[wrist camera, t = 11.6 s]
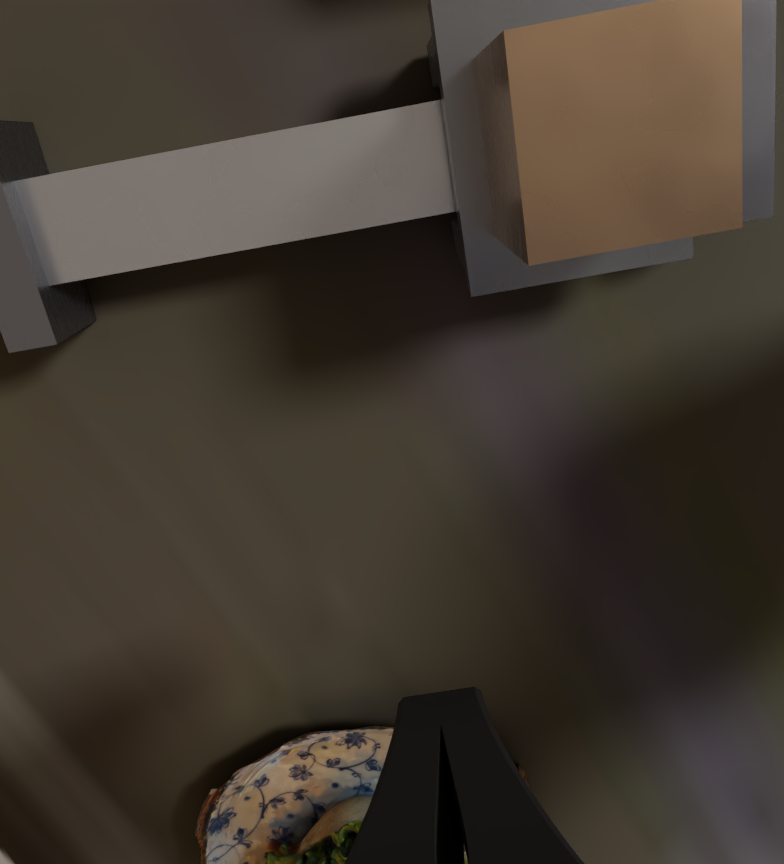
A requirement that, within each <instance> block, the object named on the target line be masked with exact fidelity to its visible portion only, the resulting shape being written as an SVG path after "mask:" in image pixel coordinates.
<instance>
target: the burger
mask: <svg viewBox="0 0 784 864" xmlns="http://www.w3.org/2000/svg"><path fill="white" fill-rule="evenodd" d="M393 730H394V727H383V726H371V727H363V728H358V729H352V730H338V731H319V732H310V733H306V734H303V735H301V736H298V737H296V738H294V739H293V740H291V741H289V742H287V743H283V744H282V746H281V747H279V748H277V749H275V750H274V751H272V752H270V753H269V754H267V755H265V756H263V757H261V758H260V759H258V760H256V761H254V762H253V763H250V764H247V765H245V766H243V767H241V768H240V769H238V770H237V771H235V772H234V773H233V774H232V775H231V777H230V779H229V780H227V781H226V782H225V783H224V784H223V785H221V786H220V787H219V788H218V789H211V791H210V793H209V795H208V796H207V798H206V800H205V801H204V803H203V805H202V807H201V810H200V814H199V817H198V821H197V824H196V828H195V831H194V835H195V836H196V837H197V838H198V840H199V844H200V848H201V854H200V859H201V861H200V863H199V864H344V863H345V861H346V859H347V857H348V854H349V852H350V850H351V848H352V846H353V843H354V841H355V838H356V836H357V834H358V831H359V829H360V826H361V824H362V822H363V819H364V817H365V814H366V812H367V810H368V807H369V805H370V802H371V799H372V797H373V794H374V791H375V788H376V785H377V782H378V779H379V776H380V774H381V771H382V768H383V765H384V762H385V758H386V755H387V752H388V748H389V745H390V741H391V738H392V734H393ZM517 769H518V771H519V772H520V774H521V776H522V777H523V779H524V781H525V782H526V784H527V786H528V787H529V789H530V786H529V782H528V779H527V776H526V773H525V771H524V770H522V766H521V765H519V764H517ZM524 776H526V778H524ZM530 790H531V789H530ZM464 860H465V864H468V860H467V856H466V851H465V846H464Z"/></svg>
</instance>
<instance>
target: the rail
mask: <svg viewBox="0 0 784 864" xmlns="http://www.w3.org/2000/svg"><path fill="white" fill-rule="evenodd" d="M775 68H776V0H742V198H743V222H746V221H752V220H758V219H763V218H769V217H774V157H775ZM450 212H456V204H455V197H454V189H453V182H452V175H451V168H450V161H449V153H448V146H447V139H446V132H445V124H444V117H443V110H442V103H441V100H436V101H431V102H426V103H421V104H415V105H410V106H405V107H400V108H394V109H389V110H384V111H379V112H374V113H368V114H363V115H358V116H353V117H347V118H342V119H337V120H332V121H326V122H321V123H316V124H311V125H305V126H300V127H295V128H290V129H284V130H279V131H274V132H269V133H264V134H258V135H253V136H248V137H243V138H237V139H232V140H227V141H222V142H216V143H211V144H206V145H201V146H195V147H190V148H185V149H180V150H174V151H169V152H164V153H159V154H154V155H148V156H143V157H138V158H133V159H127V160H122V161H117V162H112V163H106V164H101V165H96V166H91V167H85V168H80V169H75V170H70V171H64V172H59V173H54V174H49V172H48V169H47V166H46V163H45V160H44V157H43V154H42V151H41V148H40V145H39V141H38V138H37V135H36V132H35V129H34V126H33V123H32V122H17V121H0V331H1V334H2V337H3V339H4V342H5V345H6V347H7V350H8V353H12V352H18V351H23V350H29V349H35V348H40V347H46V346H51V345H57V344H59V343H60V342H62V341H64V340H65V339H67V338H68V337H70V336H72V335H73V334H75V333H77V332H78V331H80V330H81V329H83V328H85V327H86V326H88V325H90V324H91V323H93V322H94V321H96V317H95V314H94V311H93V308H92V305H91V301H90V298H89V295H88V292H87V289H86V286H85V283H84V279H89V278H95V277H100V276H106V275H111V274H116V273H122V272H127V271H133V270H138V269H144V268H149V267H155V266H160V265H166V264H171V263H177V262H182V261H188V260H193V259H199V258H204V257H209V256H215V255H220V254H226V253H231V252H237V251H242V250H248V249H253V248H259V247H264V246H270V245H275V244H281V243H286V242H292V241H297V240H302V239H308V238H313V237H319V236H324V235H330V234H335V233H341V232H346V231H352V230H357V229H363V228H368V227H374V226H379V225H385V224H390V223H395V222H401V221H406V220H412V219H417V218H423V217H428V216H434V215H439V214H445V213H450Z"/></svg>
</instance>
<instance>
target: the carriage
mask: <svg viewBox="0 0 784 864" xmlns="http://www.w3.org/2000/svg"><path fill="white" fill-rule="evenodd" d="M428 9H429V16H430V23H431V31H432V36H431V38H430V41H429V43H428V45H427V51H428V58H429V65H430V72H431V80H432V87H433V88H435V87H439V88H440V96H441V103H442V110H443V117H444V124H445V132H446V139H447V146H448V153H449V161H450V168H451V175H452V182H453V189H454V197H455V204H456V211H457V218H458V219H454V220H451V221H452V228H453V235H454V242H455V249H456V256H457V257H458V259H459V260H460V262H461V263H462V265H463V266H464V269H465V276H466V283H467V291H468V292H469V294H470V296H471V297H474V296H480V295H486V294H491V293H497V292H503V291H508V290H514V289H520V288H525V287H531V286H537V285H542V284H548V283H554V282H559V281H565V280H571V279H576V278H582V277H588V276H593V275H599V274H605V273H610V272H616V271H622V270H627V269H633V268H639V267H644V266H650V265H656V264H661V263H667V262H673V261H678V260H684V259H690V258H693V237H694V236H699V235H705V234H710V233H716V232H722V231H727V230H733V229H738V228H743V198H742V0H430V1H429V4H428Z"/></svg>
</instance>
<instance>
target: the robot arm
mask: <svg viewBox="0 0 784 864" xmlns="http://www.w3.org/2000/svg"><path fill="white" fill-rule="evenodd" d="M464 846H465V851H466V856H467V860H468V864H584V863H583V862H582V860H581V859H580V858H579V857H578V855H577V854H576V853H575V852H574V850H573V849H572V848H571V847H570V845H569V844H568V843H567V841H566V840H565V839H564V837H563V836H562V835H561V833H560V832H559V831H558V829H557V828H556V827H555V825H554V824H553V822H552V821H551V820H550V818H549V817H548V815H547V814H546V812H545V811H544V810H543V808H542V807H541V805H540V804H539V802H538V801H537V799H536V798H535V796H534V795H533V793H532V792H531V790H530V789H529V787H528V786H527V784H526V782H525V781H524V779H523V777H522V776H521V774H520V772H519V771H518V769H517V767H516V766H515V764H514V762H513V761H512V759H511V757H510V756H509V754H508V752H507V750H506V748H505V747H504V745H503V743H502V741H501V739H500V737H499V735H498V733H497V731H496V729H495V727H494V725H493V723H492V720H491V718H490V716H489V713H488V711H487V708H486V705H485V703H484V700H483V696H482V692H481V691H480V690H478V689H477V688H475V687H470V688H463V689H456V690H450V691H443V692H436V693H430V694H423V695H416V696H409V697H404V698H403V699H402V700H401V701H400V702H399V704H398V710H397V716H396V721H395V725H394V730H393V734H392V738H391V741H390V745H389V748H388V752H387V755H386V758H385V762H384V765H383V768H382V771H381V774H380V776H379V779H378V782H377V785H376V788H375V791H374V794H373V797H372V799H371V802H370V805H369V807H368V810H367V812H366V814H365V817H364V819H363V822H362V824H361V826H360V829H359V831H358V834H357V836H356V838H355V841H354V843H353V846H352V848H351V850H350V852H349V854H348V857H347V859H346V861H345V863H344V864H465V860H464Z"/></svg>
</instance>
